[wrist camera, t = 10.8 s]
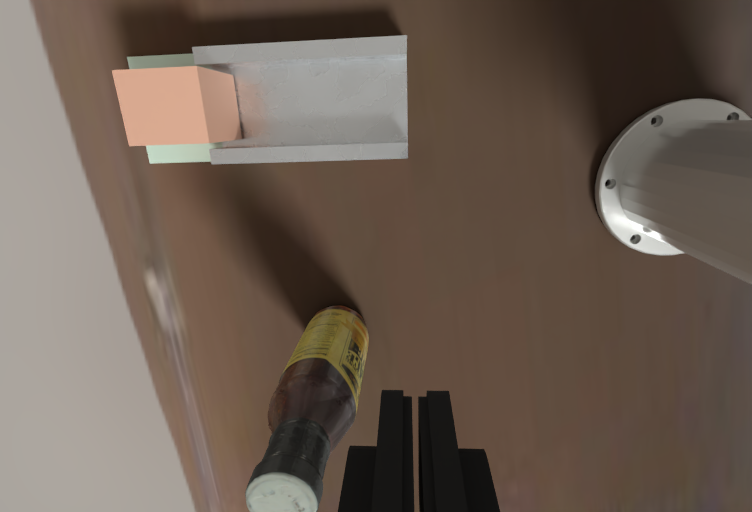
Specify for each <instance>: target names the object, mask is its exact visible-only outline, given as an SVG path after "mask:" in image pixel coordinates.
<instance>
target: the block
mask: <svg viewBox="0 0 752 512" xmlns="http://www.w3.org/2000/svg"><path fill="white" fill-rule="evenodd" d="M112 73H113V77H114V82H115V86H116V90H117V95H118V99H119V103H120V108H121V112H122V117H123V121H124V125H125V130H126V134H127V138H128V143H129V146H147V145H175V144H204V143H216V142H224V141H232V140H240V139H242V135H241V128H240V121H239V114H238V107H237V99H236V92H235V85H234V78H233V75H230V74H226V73H222V72H218V71H214V70H211V69H207V68H203V67H199V66H185V67H166V68H146V69H127V70H112Z"/></svg>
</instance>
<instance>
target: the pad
mask: <svg viewBox="0 0 752 512" xmlns="http://www.w3.org/2000/svg"><path fill="white" fill-rule="evenodd" d="M127 60H128V64H129V69H146V68H166V67H185V66H198V65H195V63H194V57H193V54H174V55H155V56H136V57H127ZM199 67H202V66H199ZM203 68H206V67H203ZM207 69H210V68H207ZM220 147H223V145H222V142H216V143H204V144H175V145H147V146H146V148H147V153H148V157H149V162H150V163H180V162H211V159H210V153H209V149H213V148H220Z"/></svg>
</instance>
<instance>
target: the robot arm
mask: <svg viewBox="0 0 752 512" xmlns="http://www.w3.org/2000/svg"><path fill="white" fill-rule="evenodd" d="M652 119H653V123H652V124H651V120H652ZM607 180H608V183H607V184H606V185H605V182H606V181H607ZM595 202H596V206H597V211H598V214H599V216H600V218H601V220H602V223H603V225H604V226H605V227H606V228H607V230H608V231H609V232H610V233H611V235H613V236H614V237H615V238H616V239H618V240H619V241H620V242H621V243H623V244H625V245H627V246H628V247H630V248H632V249H635V250H637V251H640V252H643V253H647V254H653V255H677V254H682V253H687V254H689V255H691V256H693V257H695V258H697V259H699V260H701V261H703V262H705V263H707V264H710V265H712V266H714V267H716V268H718V269H720V270H722V271H724V272H726V273H728V274H730V275H733V276H735V277H737V278H739V279H741V280H743V281H745V282H747V283H749V284H751V285H752V119H751V118H750V117H749V116H748V115H747V114H746V113H745V112H744V111H743V110H741V109H739V108H737V107H735V106H733V105H732V104H730V103H726V102H723V101H719V100H715V99H700V98H697V99H684V100H679V101H675V102H670V103H666V104H664V105H661V106H659V107H656V108H654V109H652V110H650V111H648V112H646V113H645V114H643V115H642V116H640V117H638V118H637V119H635V120H634V121H633V122H632V123H631V124H629V125H628V126H627V127H626V128H625V129H624V130H622V132H621V133H620V134H619V135H618V136H617V138H616V139H615V140H614V141H613V142H612V144H611V145H610V147H609V149H608V150H607V152H606V154H605V155H604V157H603V159H602V162H601V164H600V167H599V170H598V173H597V178H596V183H595ZM631 237H632V238H631ZM630 238H631V239H630ZM418 410H419V508H420V512H500V509H499V505H498V501H497V497H496V493H495V489H494V484H493V480H492V476H491V472H490V468H489V464H488V460H487V456H486V453H485V451H484V449H458V445H457V439H456V433H455V426H454V420H453V414H452V407H451V401H450V395H449V391H427V397H419V399H418ZM338 512H414V479H413V434H412V397H408V396H403V390H382V393H381V405H380V416H379V428H378V439H377V446H350V447H349V451H348V456H347V461H346V467H345V473H344V479H343V485H342V490H341V496H340V502H339V508H338Z"/></svg>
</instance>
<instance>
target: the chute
mask: <svg viewBox="0 0 752 512" xmlns="http://www.w3.org/2000/svg"><path fill="white" fill-rule="evenodd" d="M192 51H193V57H194V63H195V65H198V66H202V67H206V68H210V69H211V70H214V71H218V72H222V73H226V74H230V75H233V78H234V85H235V92H236V99H237V107H238V114H239V121H240V128H241V135H242V139H240V140H232V141H224V142H222V145H223V147H220V148H213V149H209V153H210V159H211V164H239V163H272V162H305V161H337V160H370V159H402V158H408V134H407V35H401V36H382V37H364V38H346V39H328V40H309V41H291V42H273V43H255V44H236V45H218V46H200V47H192Z"/></svg>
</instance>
